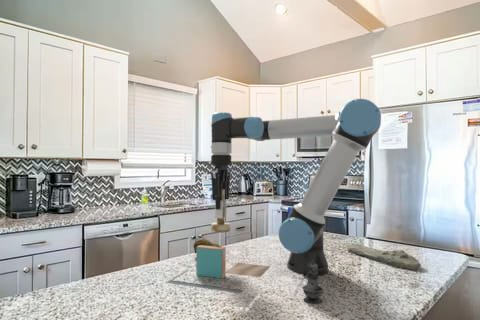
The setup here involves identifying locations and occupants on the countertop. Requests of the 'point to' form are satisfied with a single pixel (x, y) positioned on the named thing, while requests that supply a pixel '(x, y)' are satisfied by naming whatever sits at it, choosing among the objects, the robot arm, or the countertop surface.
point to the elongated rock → (386, 256)
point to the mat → (202, 285)
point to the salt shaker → (312, 285)
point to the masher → (221, 220)
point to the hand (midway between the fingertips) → (220, 217)
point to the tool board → (248, 269)
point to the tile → (211, 261)
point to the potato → (204, 244)
